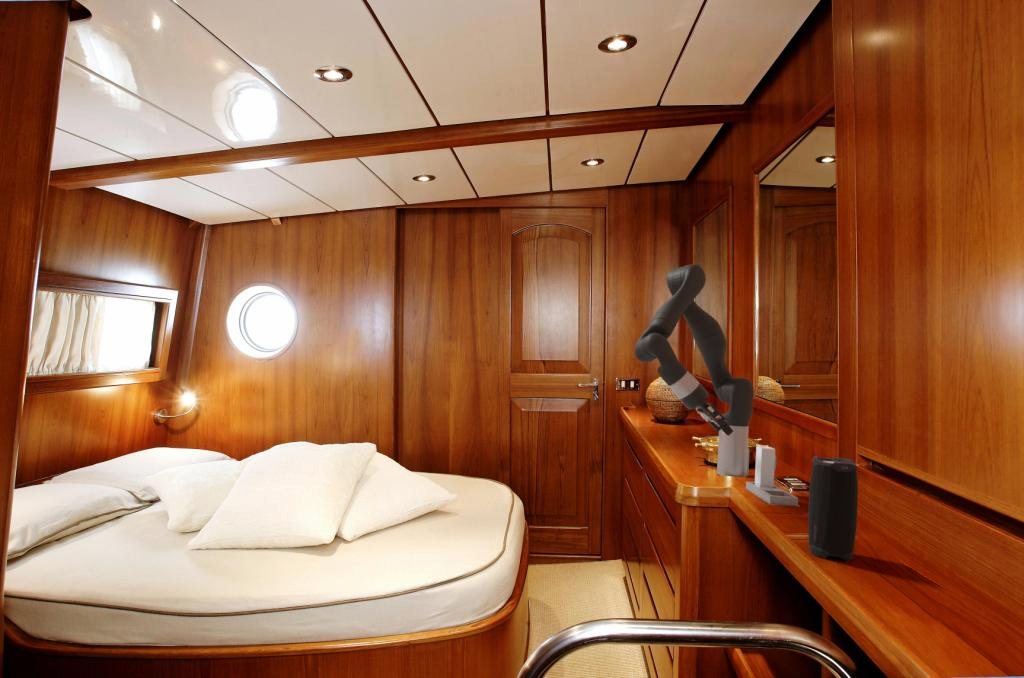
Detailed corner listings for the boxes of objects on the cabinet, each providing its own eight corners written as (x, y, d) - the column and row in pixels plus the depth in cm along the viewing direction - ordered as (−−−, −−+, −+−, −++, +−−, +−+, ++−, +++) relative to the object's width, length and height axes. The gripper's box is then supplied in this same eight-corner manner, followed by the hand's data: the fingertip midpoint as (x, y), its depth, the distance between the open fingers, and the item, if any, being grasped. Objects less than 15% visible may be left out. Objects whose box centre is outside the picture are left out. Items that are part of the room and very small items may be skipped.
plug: (769, 491, 161) (771, 447, 162) (775, 494, 158) (777, 449, 158) (754, 490, 161) (756, 446, 162) (759, 493, 158) (762, 448, 158)
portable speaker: (839, 548, 117) (844, 456, 117) (864, 565, 107) (869, 465, 108) (798, 545, 117) (802, 453, 118) (819, 561, 108) (824, 462, 108)
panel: (770, 492, 164) (771, 482, 164) (800, 510, 146) (800, 498, 146) (743, 490, 164) (744, 480, 164) (769, 508, 146) (770, 496, 146)
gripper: (705, 382, 154) (744, 426, 153) (690, 380, 168) (726, 420, 167) (685, 400, 154) (724, 443, 153) (672, 396, 168) (707, 436, 167)
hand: (725, 431), depth 160 cm, fingers open, 8 cm apart
